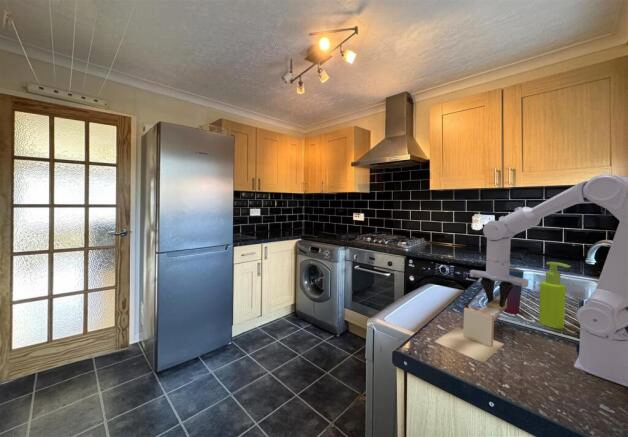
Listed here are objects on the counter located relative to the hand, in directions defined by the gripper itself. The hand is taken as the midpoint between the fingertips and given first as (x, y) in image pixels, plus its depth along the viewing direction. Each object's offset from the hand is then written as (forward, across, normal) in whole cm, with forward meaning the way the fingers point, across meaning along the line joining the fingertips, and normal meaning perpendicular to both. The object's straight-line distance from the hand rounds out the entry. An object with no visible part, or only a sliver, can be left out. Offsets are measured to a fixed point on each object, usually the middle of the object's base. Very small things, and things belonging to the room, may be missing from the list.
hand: (496, 304), depth 78 cm
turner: (+2, 0, -2) cm, 3 cm away
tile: (+7, 0, -14) cm, 15 cm away
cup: (+8, -2, +20) cm, 22 cm away
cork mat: (+8, -1, -16) cm, 18 cm away
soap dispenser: (+8, +10, +18) cm, 22 cm away
